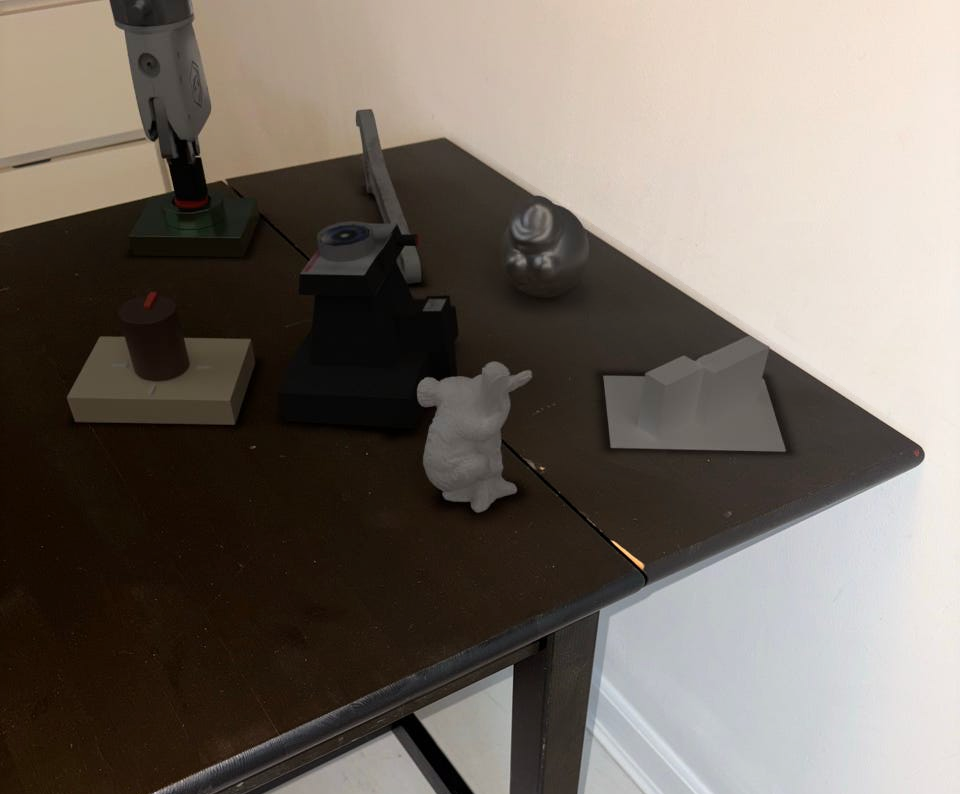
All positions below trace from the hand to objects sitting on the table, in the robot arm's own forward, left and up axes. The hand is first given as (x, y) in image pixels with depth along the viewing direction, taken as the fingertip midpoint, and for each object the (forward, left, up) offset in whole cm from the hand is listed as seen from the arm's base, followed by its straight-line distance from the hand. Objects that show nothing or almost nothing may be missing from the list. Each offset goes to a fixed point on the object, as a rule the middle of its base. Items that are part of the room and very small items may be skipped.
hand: (192, 197), depth 107 cm
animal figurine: (+32, -45, -4) cm, 55 cm away
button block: (0, 0, -4) cm, 4 cm away
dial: (+4, -31, -2) cm, 31 cm away
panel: (+4, -31, -4) cm, 32 cm away
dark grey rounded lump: (+38, -12, -4) cm, 40 cm away
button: (0, 0, -2) cm, 2 cm away
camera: (+24, -29, -4) cm, 38 cm away
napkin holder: (+51, -33, -4) cm, 61 cm away
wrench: (+21, +3, -4) cm, 21 cm away
